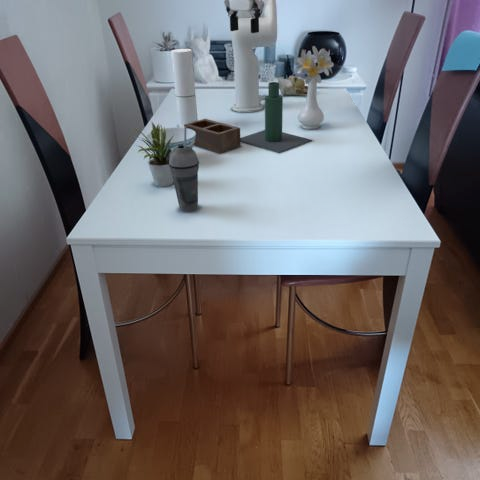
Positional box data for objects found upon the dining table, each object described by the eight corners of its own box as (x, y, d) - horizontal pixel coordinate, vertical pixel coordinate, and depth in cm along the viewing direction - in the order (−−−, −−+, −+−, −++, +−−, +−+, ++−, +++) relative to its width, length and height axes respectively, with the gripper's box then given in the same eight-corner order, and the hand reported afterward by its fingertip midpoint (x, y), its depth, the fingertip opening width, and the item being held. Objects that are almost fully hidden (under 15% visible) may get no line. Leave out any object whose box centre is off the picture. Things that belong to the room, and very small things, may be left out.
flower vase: (297, 136, 169) (300, 54, 154) (290, 121, 183) (292, 45, 168) (334, 134, 169) (341, 52, 154) (324, 119, 184) (329, 43, 169)
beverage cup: (174, 203, 127) (164, 123, 115) (202, 201, 127) (195, 121, 115) (174, 215, 121) (163, 132, 109) (203, 213, 121) (196, 130, 109)
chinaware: (207, 158, 154) (205, 133, 149) (171, 172, 145) (168, 145, 141) (176, 149, 162) (173, 124, 158) (140, 161, 154) (136, 136, 149)
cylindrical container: (199, 122, 186) (193, 48, 171) (196, 128, 180) (189, 51, 165) (181, 123, 187) (173, 48, 172) (177, 128, 181) (169, 52, 166)
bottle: (273, 135, 168) (273, 80, 158) (285, 139, 165) (286, 82, 155) (261, 139, 165) (261, 83, 155) (273, 143, 162) (274, 85, 152)
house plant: (131, 178, 142) (120, 119, 132) (176, 169, 146) (169, 112, 137) (143, 195, 132) (133, 133, 122) (191, 186, 136) (185, 125, 126)
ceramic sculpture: (278, 70, 216) (312, 72, 215) (277, 91, 221) (310, 93, 220) (277, 75, 207) (313, 77, 206) (276, 97, 213) (310, 99, 212)
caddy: (206, 136, 172) (205, 118, 169) (240, 146, 162) (240, 127, 158) (185, 142, 167) (183, 124, 164) (219, 153, 157) (218, 134, 153)
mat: (268, 129, 176) (268, 128, 175) (311, 140, 164) (311, 139, 164) (236, 140, 167) (236, 139, 167) (279, 153, 155) (279, 151, 155)
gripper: (271, -33, 148) (271, 32, 159) (232, -33, 159) (234, 28, 169) (254, -32, 144) (255, 35, 155) (215, -32, 154) (218, 31, 165)
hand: (244, 31), depth 162 cm, fingers open, 9 cm apart
